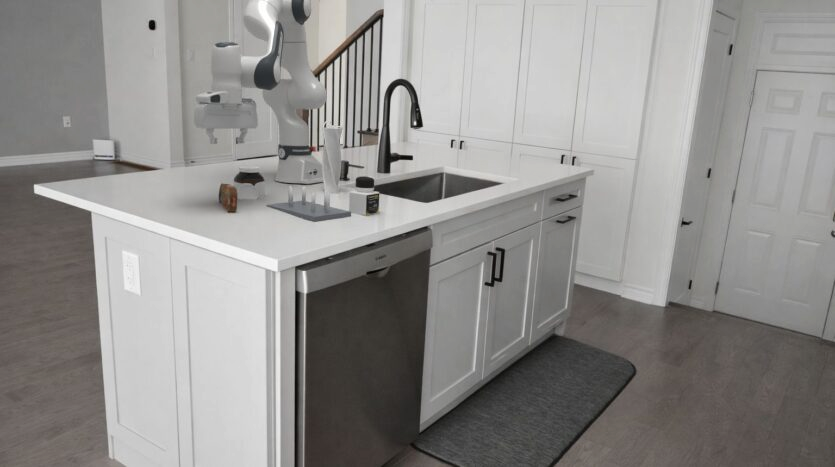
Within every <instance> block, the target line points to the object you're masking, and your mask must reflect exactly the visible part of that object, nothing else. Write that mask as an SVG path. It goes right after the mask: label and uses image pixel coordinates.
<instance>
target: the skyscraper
mask: <svg viewBox="0 0 835 467" xmlns="http://www.w3.org/2000/svg"><path fill="white" fill-rule="evenodd" d="M327 123H329V125H328V127H325V124H327ZM342 133H343V126H342V125H338V126H337V125H332V120H326V121H325V122H324V123H323V125H322V134H323V135H322V136H323V140H324V144H323V149H322V157H321V158H322V159H321V164H322V174H323V182H322V184H323V192H324V191H328V193H329V194H335V195H336V194H339V191H338V190H339V189H338V188H339V184H340V178H341V172H342V171H341V170H342V151H341V150H342V149H341V144H340V140H341V138H342Z"/></svg>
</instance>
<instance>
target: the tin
mask: <svg viewBox="0 0 835 467" xmlns="http://www.w3.org/2000/svg"><path fill="white" fill-rule="evenodd" d="M237 196H238V194H237V189H236V188H235V187H234V186H233V185H232V184H230V183H220V186H219V190H218V204H221V206H222V207H223V208H224V209H225V210H226V211H227V213H236V212H237V209H238V206H237V204H238V197H237Z"/></svg>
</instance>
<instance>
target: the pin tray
mask: <svg viewBox="0 0 835 467" xmlns="http://www.w3.org/2000/svg"><path fill="white" fill-rule="evenodd" d="M301 189H302V190H301V200H297V201H294V187H293V185H288V196H287V197H288V199H287V200H288V201H286V202H279V203H270V204H266V205H265V206H266V207H267V208H270V209H273V210H277V211H279V212H283V213H286V214H288V215H291V216H294V217H297V218H300V219H303V220H306V221H311V222H315V223H316V222H321V221H328V220H334V219H341V218H348V217H351V216H352V213H351V212H350V211H349V210H345V209H342V208H341V209H340V208H337V207H332V206H330V205H331V193H328V191H324V190H323V192H324V193H323V194H324V195H323V196H324V197H323V204H318V203H316V192H315V191H313V192H311V202H310V201H307V198H306V197H307V186H302V187H301Z"/></svg>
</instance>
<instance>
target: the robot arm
mask: <svg viewBox="0 0 835 467" xmlns="http://www.w3.org/2000/svg"><path fill="white" fill-rule="evenodd" d="M311 14H312V2H311V0H248V2H247V4H246V7H245V8H244V11H243V17H242V19H243V20H242V21H243V25H244V27H245V29H246V30H247V31H248V32H249V33H250V34H251V35H252V36H253V37H255V38H257V39H259V40H262V41H264V42H267V47H266V53H265V54H264V55H261V56H260V55H259V56H251V55H250V56H249V55H243V54H242V53H241V47H240V45H239V43H237V42H236V43H235V42H231V41H225V42H224V41H223V42H221V41H220V42H217V43H215V44H214V45H213V46H212V51H211V61H210V64H211V65H210V66H211V67H210V70H211V76H212V82H211V87H210V88H211V90H209V91H206V92H203V93H200V94H199V93H198V94H197V95H195V100H196V102H197V103H196V105H195V107H194V111H193V112H194V113H193V123H194V126H195V127H196V129H203V130H204V129H205V133H206V134H207V136H208V138H209V143H210V144H211V145H216V144H218V137H215V135H214V132H215V129H221V130H223V129H224V130H225V129H239V132H240V135H239V136H237V137H236V142H237V144H245V138H246V136H247V134H248V129H256V128H257V127H258V126H259V122H258V114H257V102H255V100H253V98H244V97H243V88H246V89H247V88H248V89H258V90H259V89H260V90H262V91H261V92H262V93H261V94H262V98H263V100H264V102H265V104H266V105H268V106H269V107H270V109H271V110H272V111H273V113H274V115H275V117H276V120H277V122H278V131H279V132H278V136H279V143H278V148H277V154H278V163H277V164H278V165H277V171H276V174H275V175H276V176H275V179H274V181H276V182H280V183H286V184H287V183H289V184H306V185H309V184H316V183H323V174H322V162H321V161H320V160H319V159H317V158H316V157H315V156H314V155H313V154H312V152H314V153H316V152H317V147H316V146H312V145H311V146H310V145H309V125H308V124H307V122H306V121H305V120H303V119H302V118H300V116H299V115H298V112H297V110H307V111H308V110H310V111H311V110H316V109H322V108H323V106H324V105H325V104H326V101H327V97H328V95H327V94H328V93H327V90H326V88H325V85H324V84H323V83H322V82H320V81H319V79H317V78H316V76H315V75H314V73H313V71H312V69H311V67H310V63H309V59H308V58H309V57H308V48H307V47H308V45H307V32H306V27H305V23H306V22H307V21H308V19H309V18H310V16H311ZM282 68H283V69H284V70H286V71H287V72H288V74H289V75H290V77H291V78H290V79H289V78H281V75H282V74H281V73H282Z"/></svg>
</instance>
